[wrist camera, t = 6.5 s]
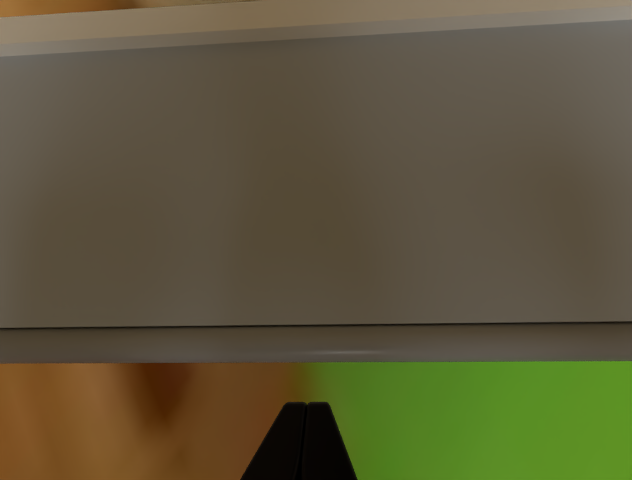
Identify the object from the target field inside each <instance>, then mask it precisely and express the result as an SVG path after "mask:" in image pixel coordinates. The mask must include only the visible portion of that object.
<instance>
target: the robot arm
mask: <svg viewBox="0 0 632 480" xmlns="http://www.w3.org/2000/svg"><path fill="white" fill-rule="evenodd" d="M240 480H357V477H356V474H355V472H354V469H353V466H352V463H351V461H350V458H349V455H348V453H347V450H346V447H345V445H344V442H343V439H342V437H341V434H340V431H339V429H338V426H337V423H336V421H335V418H334V415H333V413H332V410H331V407H330V405H329V404H328V403H327V402H310V403H308V405H307V404H306V403H305V402H287V403H286V404H285V405H284V406H283V407H282V409H281V411H280V413H279V414H278V416H277V418H276V419H275V421H274V423H273V424H272V426H271V428H270V430H269V431H268V433H267V435H266V436H265V438H264V440H263V442H262V443H261V445H260V447H259V448H258V450H257V452H256V453H255V455H254V457H253V459H252V460H251V462H250V464H249V465H248V467H247V469H246V471H245V472H244V474H243V476H242V477H241V479H240Z"/></svg>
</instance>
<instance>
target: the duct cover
mask: <svg viewBox="0 0 632 480" xmlns="http://www.w3.org/2000/svg"><path fill="white" fill-rule="evenodd" d="M493 361H632V0H259V1H244V2H229V3H213V4H198V5H183V6H168V7H153V8H137V9H122V10H107V11H92V12H77V13H62V14H46V15H31V16H16V17H1V18H0V363H240V362H493Z"/></svg>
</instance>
